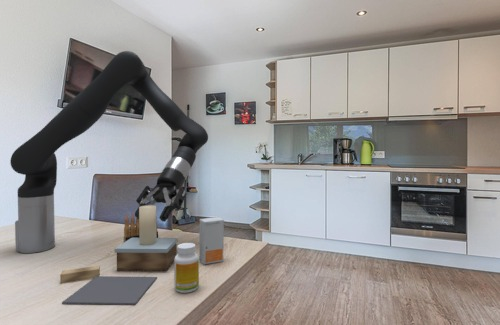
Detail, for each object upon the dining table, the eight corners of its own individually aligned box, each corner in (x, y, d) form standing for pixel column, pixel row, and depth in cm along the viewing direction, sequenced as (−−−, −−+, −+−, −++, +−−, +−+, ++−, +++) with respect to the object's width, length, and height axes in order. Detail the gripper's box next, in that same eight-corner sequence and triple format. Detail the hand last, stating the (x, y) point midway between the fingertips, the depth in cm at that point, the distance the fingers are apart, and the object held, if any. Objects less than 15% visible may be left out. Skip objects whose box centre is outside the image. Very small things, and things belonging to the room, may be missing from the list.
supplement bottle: (202, 289, 62) (202, 246, 62) (179, 296, 59) (178, 251, 59) (193, 280, 66) (193, 240, 66) (171, 286, 63) (171, 244, 63)
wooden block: (60, 284, 65) (60, 274, 65) (62, 280, 67) (62, 270, 67) (98, 278, 68) (98, 269, 68) (99, 274, 70) (99, 265, 70)
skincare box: (203, 265, 75) (203, 221, 75) (199, 260, 79) (198, 218, 79) (224, 261, 78) (224, 219, 78) (218, 256, 82) (218, 216, 81)
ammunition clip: (125, 254, 84) (124, 215, 84) (123, 252, 85) (122, 214, 85) (158, 246, 91) (158, 210, 91) (156, 245, 92) (156, 209, 92)
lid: (114, 252, 71) (114, 210, 71) (131, 240, 81) (131, 203, 81) (167, 252, 71) (166, 210, 71) (177, 241, 80) (177, 203, 80)
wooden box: (116, 271, 72) (116, 252, 71) (132, 258, 81) (132, 241, 80) (166, 271, 71) (166, 252, 71) (176, 258, 80) (176, 241, 80)
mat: (61, 304, 56) (61, 302, 56) (96, 277, 68) (96, 276, 68) (135, 305, 55) (135, 303, 55) (156, 278, 67) (156, 276, 67)
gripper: (150, 166, 87) (121, 209, 76) (189, 166, 81) (164, 212, 71) (161, 181, 92) (136, 223, 81) (198, 183, 87) (176, 228, 76)
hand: (149, 218), depth 76 cm, fingers open, 8 cm apart
